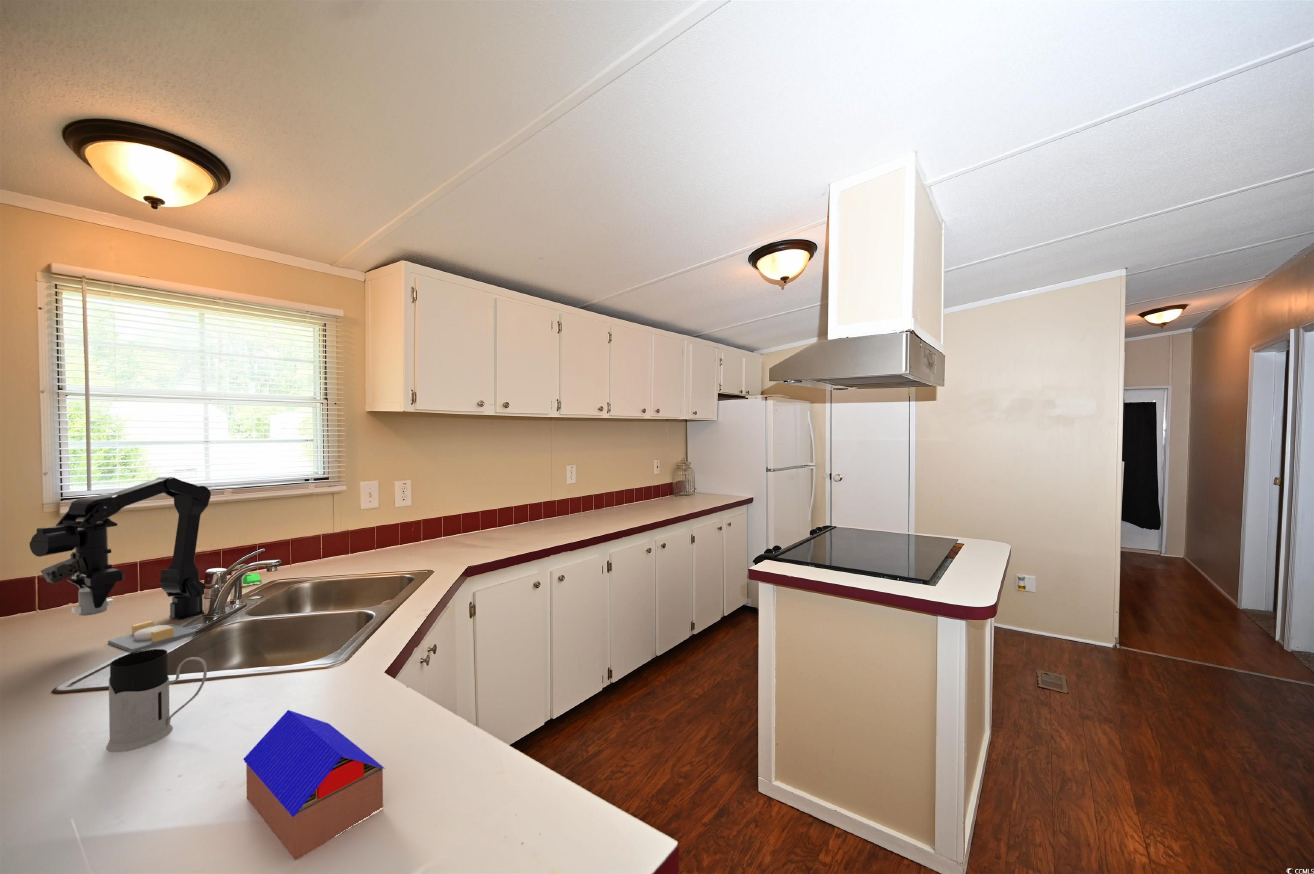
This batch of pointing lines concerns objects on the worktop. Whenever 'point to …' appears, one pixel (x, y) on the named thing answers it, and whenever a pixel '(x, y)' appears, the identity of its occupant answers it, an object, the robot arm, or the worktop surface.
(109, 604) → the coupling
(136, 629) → the board
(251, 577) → the mechanical part
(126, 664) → the glass holder
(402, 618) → the worktop surface
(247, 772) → the house
